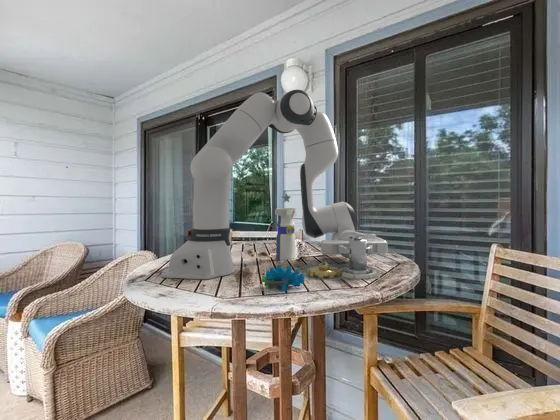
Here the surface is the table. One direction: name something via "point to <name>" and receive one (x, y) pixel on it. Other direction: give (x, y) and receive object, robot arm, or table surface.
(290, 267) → the gear
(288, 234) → the white piece
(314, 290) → the table surface
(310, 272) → the brass gear
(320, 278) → the gear board
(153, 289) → the table surface
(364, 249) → the grey cylindrical peg
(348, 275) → the seat ring
